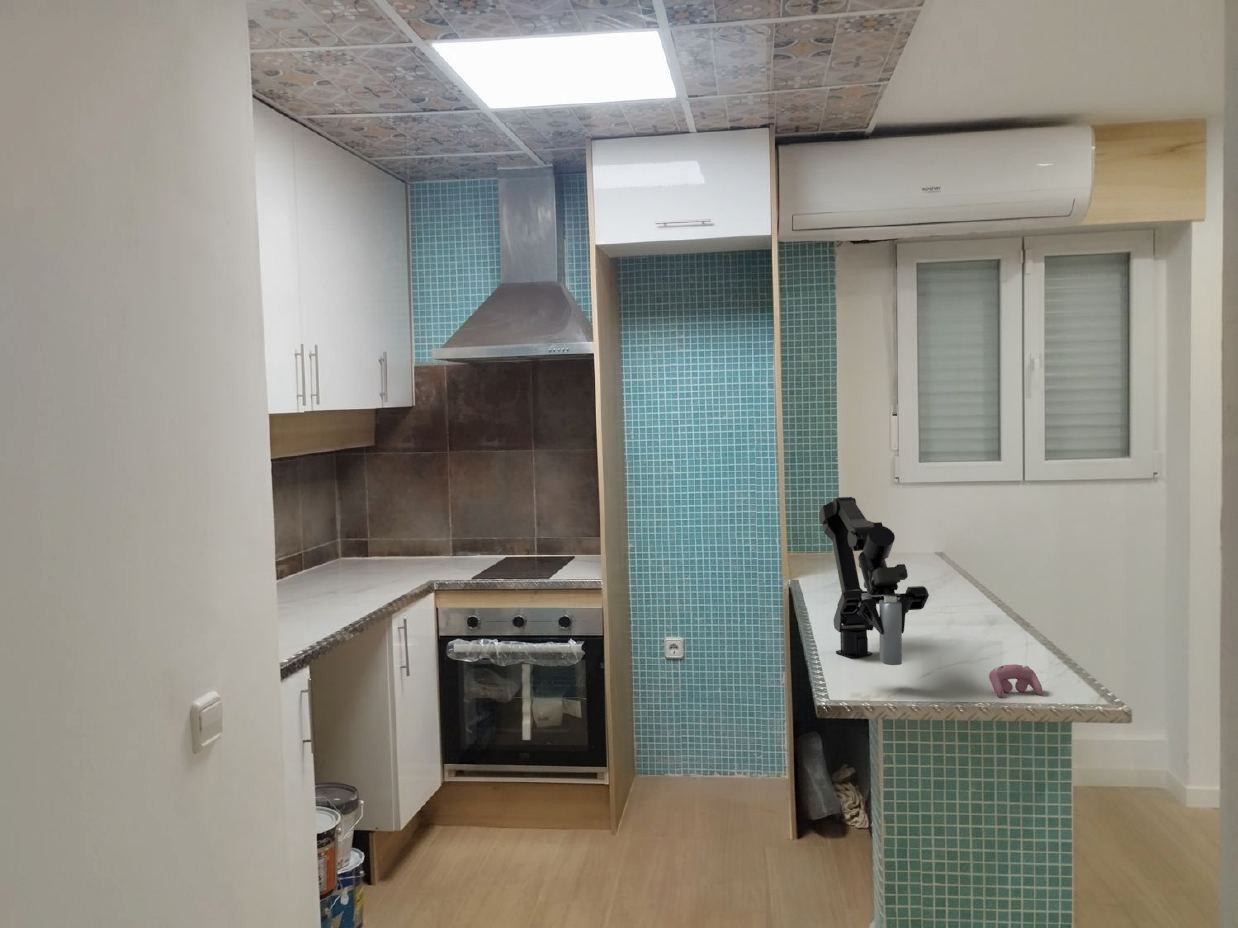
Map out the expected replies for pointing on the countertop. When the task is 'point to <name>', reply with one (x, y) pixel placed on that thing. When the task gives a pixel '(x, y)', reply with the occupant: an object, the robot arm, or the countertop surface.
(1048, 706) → the countertop surface
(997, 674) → the video game controller
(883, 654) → the grey bottle
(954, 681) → the countertop surface
